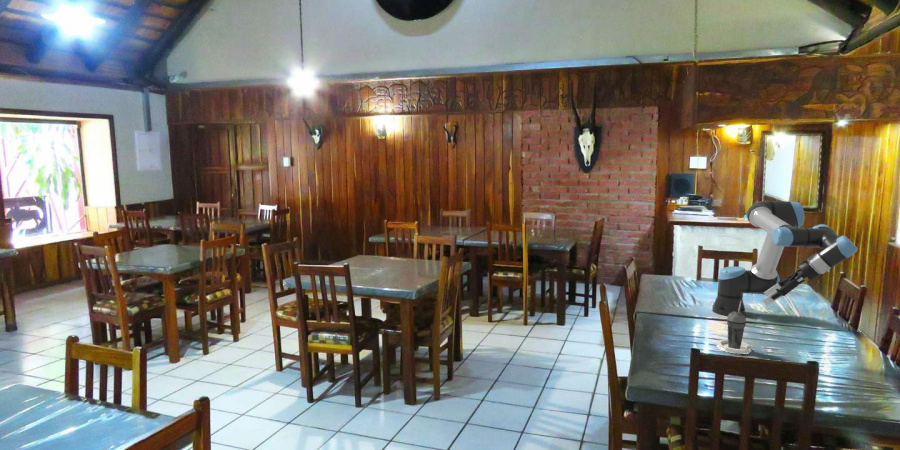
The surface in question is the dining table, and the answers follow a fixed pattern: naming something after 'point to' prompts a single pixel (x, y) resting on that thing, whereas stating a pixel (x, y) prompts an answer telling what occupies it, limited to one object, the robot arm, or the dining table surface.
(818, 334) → the dining table surface
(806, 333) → the dining table surface
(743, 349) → the plate
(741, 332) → the beverage cup
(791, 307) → the dining table surface
